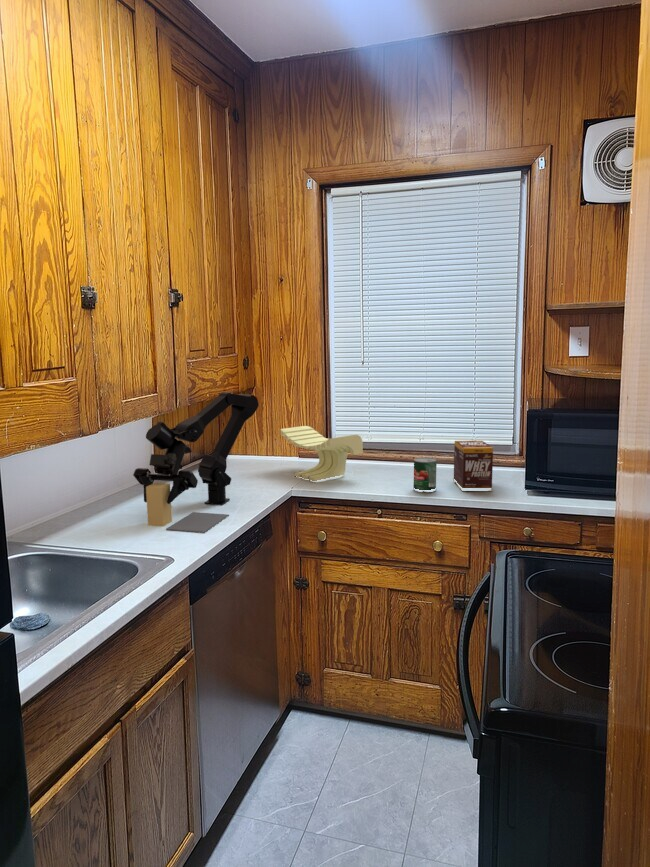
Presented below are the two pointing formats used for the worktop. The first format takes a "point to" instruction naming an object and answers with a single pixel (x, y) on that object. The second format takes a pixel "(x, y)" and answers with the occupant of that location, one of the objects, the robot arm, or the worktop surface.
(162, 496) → the ochre block
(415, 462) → the canned tomato
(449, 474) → the worktop surface
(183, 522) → the slate mat
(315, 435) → the slatted curved stool
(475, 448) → the supplement box
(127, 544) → the worktop surface
